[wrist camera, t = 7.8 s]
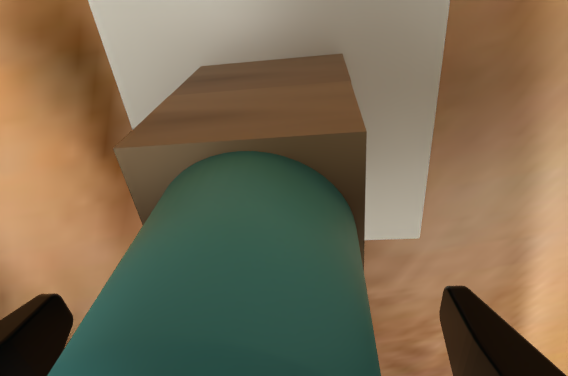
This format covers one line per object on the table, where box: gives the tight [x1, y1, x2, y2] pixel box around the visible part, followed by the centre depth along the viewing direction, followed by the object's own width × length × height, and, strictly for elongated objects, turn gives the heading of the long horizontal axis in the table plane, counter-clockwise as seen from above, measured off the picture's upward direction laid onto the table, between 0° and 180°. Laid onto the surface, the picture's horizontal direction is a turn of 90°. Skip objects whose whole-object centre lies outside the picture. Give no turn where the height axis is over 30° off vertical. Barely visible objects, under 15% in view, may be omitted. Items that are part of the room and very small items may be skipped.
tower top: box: [113, 81, 367, 271], centre depth 12 cm, size 6×6×4 cm
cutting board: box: [88, 0, 450, 240], centre depth 17 cm, size 14×14×1 cm
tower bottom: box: [170, 54, 351, 96], centre depth 15 cm, size 6×6×4 cm
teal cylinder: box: [47, 151, 381, 376], centre depth 8 cm, size 6×6×5 cm
